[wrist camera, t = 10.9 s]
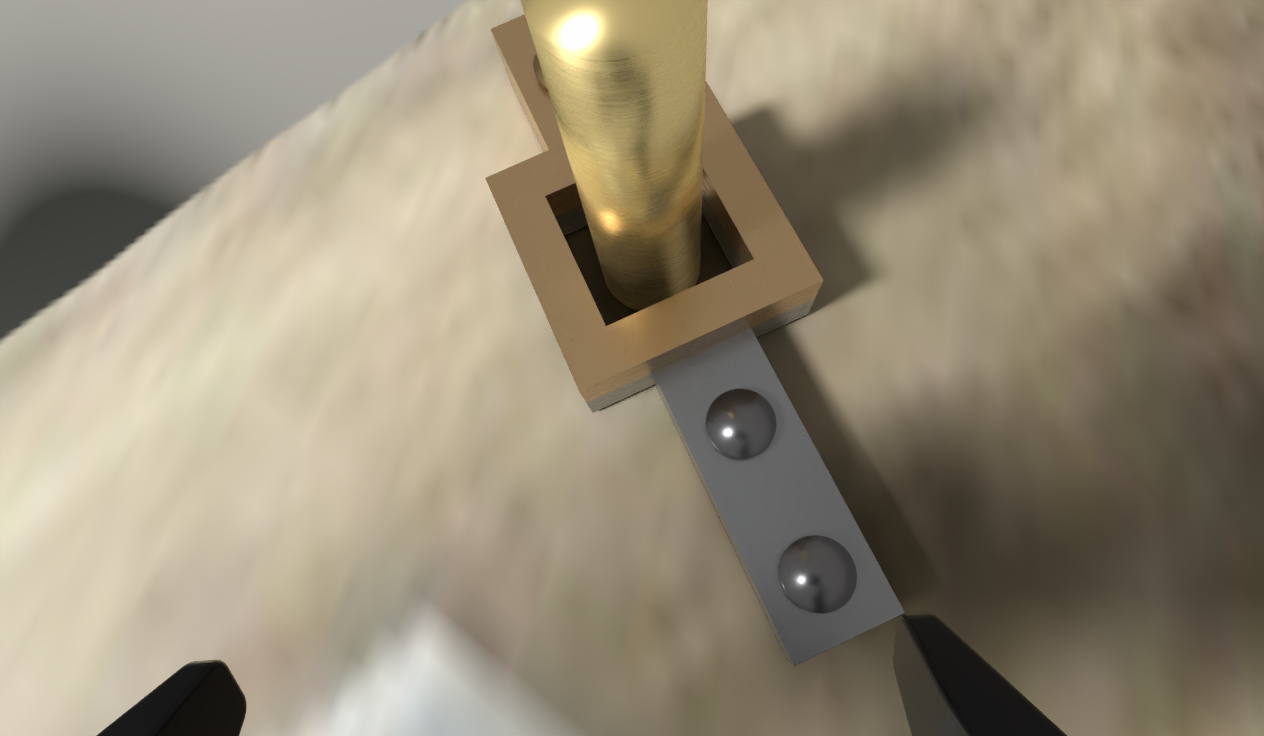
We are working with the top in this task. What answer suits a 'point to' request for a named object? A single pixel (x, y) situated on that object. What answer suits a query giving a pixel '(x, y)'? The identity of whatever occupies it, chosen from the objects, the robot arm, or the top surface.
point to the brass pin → (631, 131)
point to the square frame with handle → (707, 367)
